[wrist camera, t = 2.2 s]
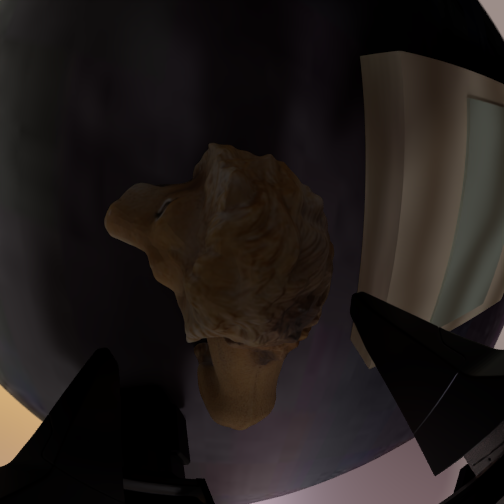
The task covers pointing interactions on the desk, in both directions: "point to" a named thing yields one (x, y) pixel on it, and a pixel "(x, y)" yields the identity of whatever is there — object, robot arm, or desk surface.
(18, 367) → the desk surface
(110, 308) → the desk surface
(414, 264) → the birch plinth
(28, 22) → the desk surface
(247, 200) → the lion figurine
